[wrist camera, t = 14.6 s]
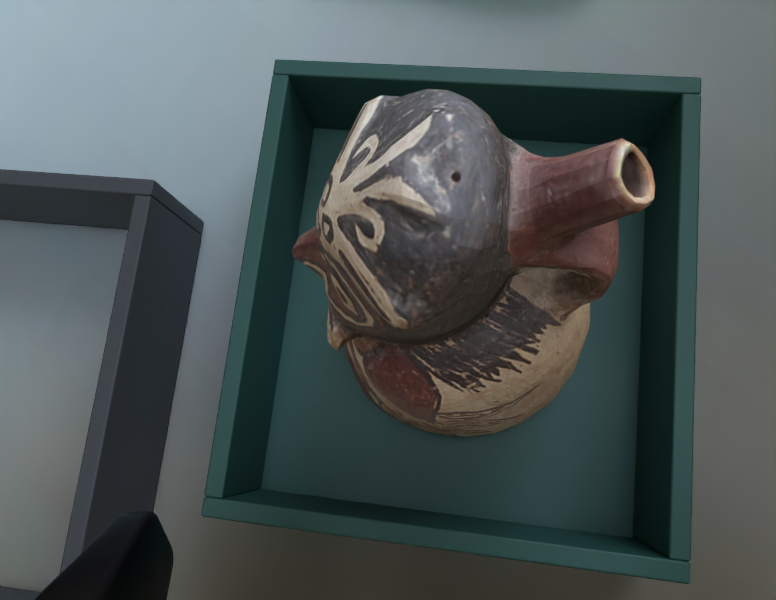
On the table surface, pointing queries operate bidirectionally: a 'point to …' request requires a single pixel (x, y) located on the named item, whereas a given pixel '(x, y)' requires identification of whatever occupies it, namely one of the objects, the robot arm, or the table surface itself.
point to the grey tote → (121, 335)
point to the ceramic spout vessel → (465, 260)
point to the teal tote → (484, 452)
